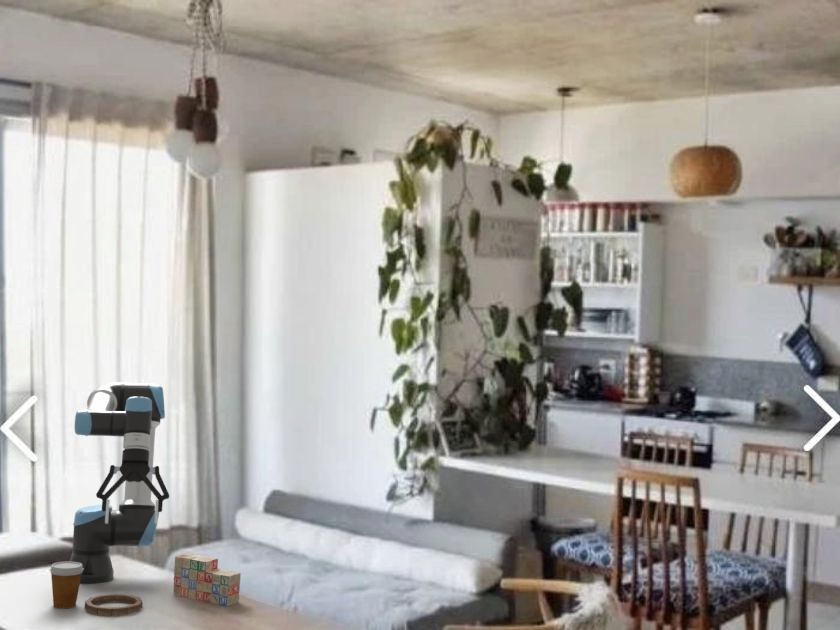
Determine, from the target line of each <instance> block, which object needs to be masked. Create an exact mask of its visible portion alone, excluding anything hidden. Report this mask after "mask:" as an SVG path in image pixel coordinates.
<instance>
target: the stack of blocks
mask: <svg viewBox="0 0 840 630" xmlns="http://www.w3.org/2000/svg"><path fill="white" fill-rule="evenodd" d="M218 561H219V559H218V558H216V557H211V556H204V555H198V554H194V553H189V552H188V553H184V554H180V555H176V556H174V568H173V569H174V570H173V575H174V576H173V594H174V595H173V596H177V595H178V597H181V596H182V597H183V598H187V599H190V598H191V599H190V600H195V599H196V600H195V601H201V602H205V603H210V604H215V605H220V606H224V607H228V606H229V607H230V606H231V605H236V604H237V603H239V602H240V589H241V587H240V585H241V574H242V573H241V572H238V571H233V570H229V569H224V568H218V567H219V566H218Z"/></svg>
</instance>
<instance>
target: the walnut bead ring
mask: <svg viewBox="0 0 840 630" xmlns="http://www.w3.org/2000/svg"><path fill="white" fill-rule="evenodd" d="M114 602H115V603H116V602H117V603H118V602H119V603H127V604H129V605H126V606H125V605H124V606H114V607H110V606H101V605H99V604H104V603H114ZM143 603H144V602H143V599H141V597H139V596H136V595H132V594H128V593H127V594H125V593H124V594H123V593H109V594H108V593H107V594H106V593H105V594H99V595H94V596H90V597H89V598H88V599H85V601H84V610H85V611H86V612H87V613H89V614H93V615H97V616H107V617H109V616H110V617H111V616H113V617H114V616H126V615H130V614H134V613H135V614H136V613H139V612H140V611H141V610H140V609H141V608H142V609H143V606H144V605H143Z"/></svg>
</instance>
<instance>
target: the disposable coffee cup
mask: <svg viewBox="0 0 840 630" xmlns="http://www.w3.org/2000/svg"><path fill="white" fill-rule="evenodd" d="M83 570H84V568H83V566H82V564H81V563H78V562H70V561H58V562H54V563H52V564H51V567H50V568H49V572H50V574H51V575H50V576H51V577H50V578H51V589H52V591H51V592H52V605H53V607H54V608H57V609H69V608H71V609H72V608H73V607H74V608H75V607H76V605H77V600H78V599H77V598H78V594H79V589H80V584H81V583H80V580H81V574H82V572H83Z"/></svg>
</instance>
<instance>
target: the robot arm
mask: <svg viewBox="0 0 840 630" xmlns="http://www.w3.org/2000/svg"><path fill="white" fill-rule="evenodd" d="M164 399H165V398H164V389H163V387H162V385H160V384H155V383H149V382H148V383H144V382H143V383H140V382H139V383H138V382H110V383H106V384H104V385H101V386H99V387H97V388H95V389H94V390H93V391H92V392H90V394H89V395H88V398H87V401H86V402H87V403H86V406H87V408H86V409H79V410H76V413H75V416H74V433H75V434H76V435H78V436H86V437H88V436H92V437H93V436H96V437H97V436H101V437H104V436H105V437H122V438H123V441H122V448H123V450H122V455H121V465H120V466H118V465H117V466H116V465H114V464H111V465H110V466H109V470H108V471H109V472H108V474H107V476H106V477H105V479H104V480H103V483H102V484H101V485H100V487H99V489H98V490H97V493H96V494H95V495H96V498H97V499H100V500H101V504H95V505H89V506H85V507H81V508H79V509H78V510H77V511H75V513H74V521H73V523H72V525H73V536H72V551H71V557H70V560H69V562H78V563H81V564H82V566H83V568H84V570H83V572H82V574H81V580H80V584H97V583H104V582H109V581H111V580H113V579H114V573H115V571H114V567H113V563H112V560H111V556H110V547H137V548H139V547H148V546H149V547H150V546H152V544H154V541H155V536H156V531H157V525H158V522H159V521H158V520H159V517H160V513H162V512H163V502H164V501H165V500H168V499H169V498H170V493H169V491H168V489H167V487H166V485H165V483H164V480H163V478H162V476H161V474H160V466H159V465H156V466H154V457H155V436H156V428H158V426H160V425H161V420H163V419H165V417H166V413H165V400H164ZM118 472H120V473H121V476H120V477H119V479H117V480H116V482H114V484H113V485H112V486H111V487H110V488H109V489H108V490H107V491H106V492H105V490H106V489H107V487H108V485H109V484H110V482H111V480H112V479H113V477H114V475H116V474H117V473H118ZM153 475H155V478H156V482H157V483H158V485H159V487H160V490H161V492H162V494H161V493H160V491H158V489H157V488H156V486H155V485H154V484H153ZM123 483H125V484H124V485H125V486H124V497H123V498H124V499H123V500H122V501H121V502H120V503H119V505H118V509H117V510H116V509H113V506H112V505H111V503H110V499H109V498H110V497H111V496H112V495H113V494H114V493H115V491H117V490H118V489H119V488H120V487H121V485H123ZM104 492H105V493H104ZM152 494H153V495H154V496H155V497H156V500H155V503H154V502H153V501H152Z"/></svg>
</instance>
